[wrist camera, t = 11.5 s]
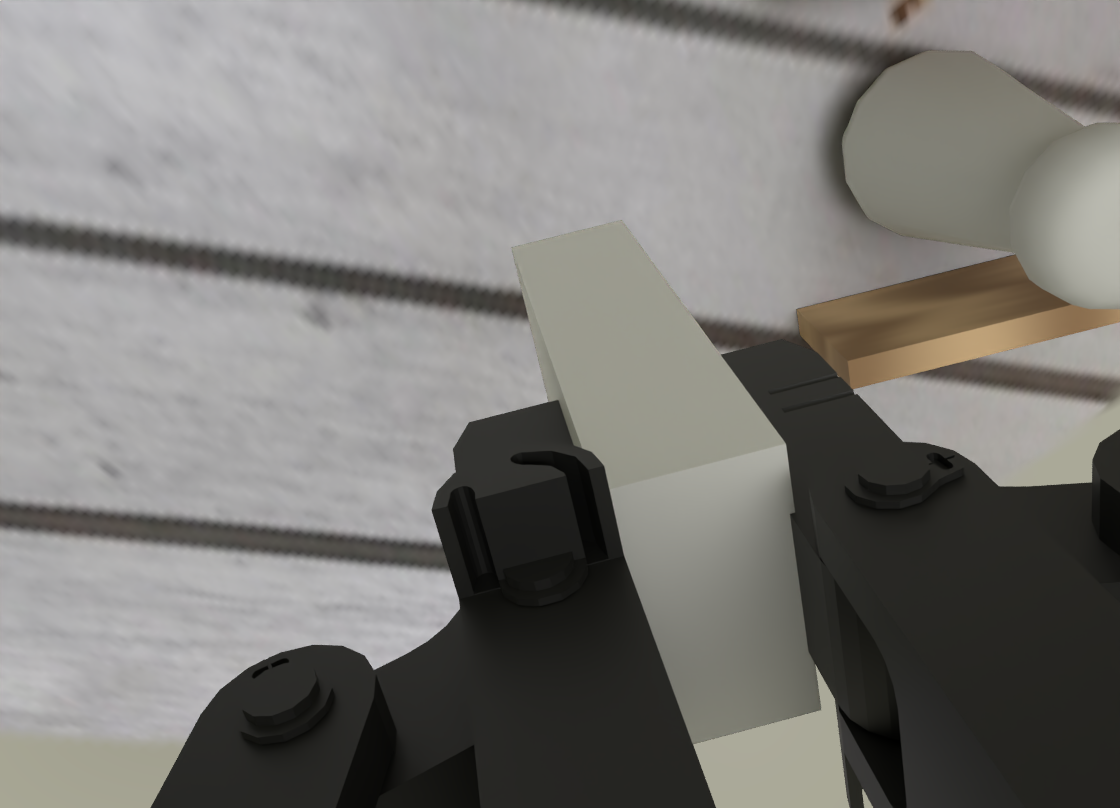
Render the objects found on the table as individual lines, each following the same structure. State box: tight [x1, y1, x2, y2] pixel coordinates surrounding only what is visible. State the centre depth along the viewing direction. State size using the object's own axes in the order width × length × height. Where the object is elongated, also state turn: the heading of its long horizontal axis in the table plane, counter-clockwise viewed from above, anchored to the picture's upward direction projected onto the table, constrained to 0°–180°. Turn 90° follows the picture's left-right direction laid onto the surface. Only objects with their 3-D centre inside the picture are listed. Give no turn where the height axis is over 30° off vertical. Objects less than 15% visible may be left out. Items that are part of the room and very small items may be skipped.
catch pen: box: [797, 255, 1120, 389], centre depth 34 cm, size 14×13×5 cm
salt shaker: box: [842, 50, 1120, 309], centre depth 30 cm, size 6×6×13 cm
